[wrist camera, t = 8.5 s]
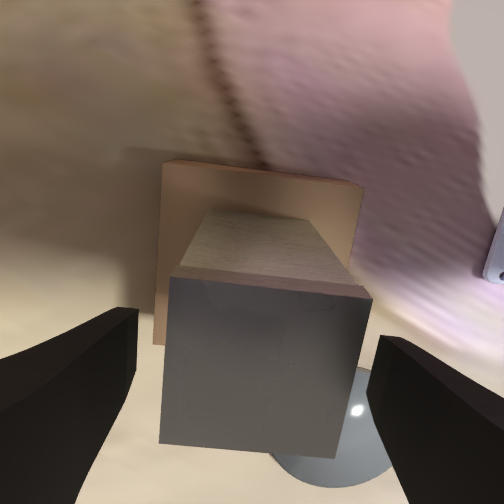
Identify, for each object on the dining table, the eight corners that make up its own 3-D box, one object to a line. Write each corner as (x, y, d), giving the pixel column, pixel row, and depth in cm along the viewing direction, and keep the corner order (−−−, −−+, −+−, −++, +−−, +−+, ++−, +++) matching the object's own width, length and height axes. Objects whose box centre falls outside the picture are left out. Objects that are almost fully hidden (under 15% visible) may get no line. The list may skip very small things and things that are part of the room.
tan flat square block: (347, 180, 20) (364, 188, 17) (317, 332, 22) (327, 362, 19) (174, 159, 19) (162, 162, 16) (165, 316, 22) (152, 344, 19)
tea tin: (310, 219, 17) (373, 299, 9) (294, 312, 18) (334, 459, 10) (208, 207, 17) (169, 276, 8) (199, 302, 18) (158, 443, 10)
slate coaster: (422, 373, 23) (427, 379, 22) (389, 485, 26) (392, 493, 25) (279, 358, 23) (279, 364, 22) (259, 474, 25) (260, 482, 25)
